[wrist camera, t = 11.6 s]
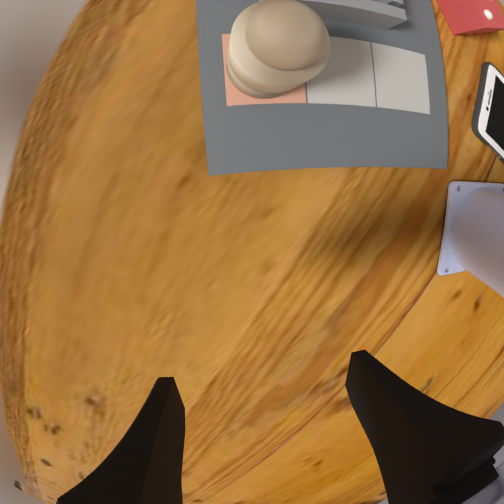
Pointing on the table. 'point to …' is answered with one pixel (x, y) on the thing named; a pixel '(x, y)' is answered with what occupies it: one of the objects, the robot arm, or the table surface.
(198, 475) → the table surface
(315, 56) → the pawn
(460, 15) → the red die
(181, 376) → the table surface
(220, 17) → the game board
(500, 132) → the cell phone
